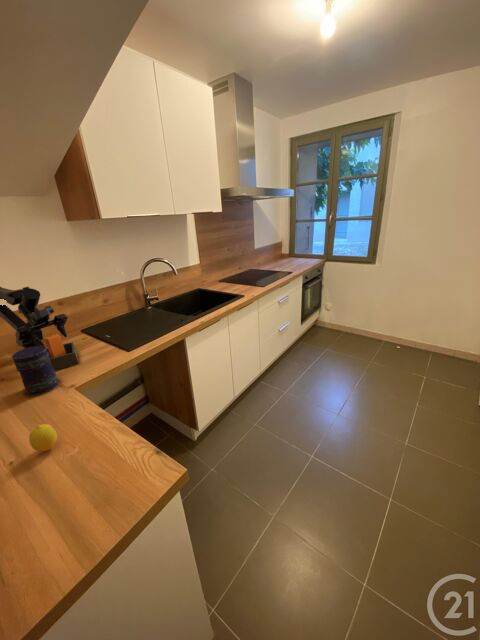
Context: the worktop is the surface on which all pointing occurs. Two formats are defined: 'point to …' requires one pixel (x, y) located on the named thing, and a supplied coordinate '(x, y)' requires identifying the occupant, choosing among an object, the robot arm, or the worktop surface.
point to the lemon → (42, 437)
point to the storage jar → (35, 370)
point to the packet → (55, 345)
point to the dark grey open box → (65, 358)
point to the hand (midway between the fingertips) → (55, 341)
